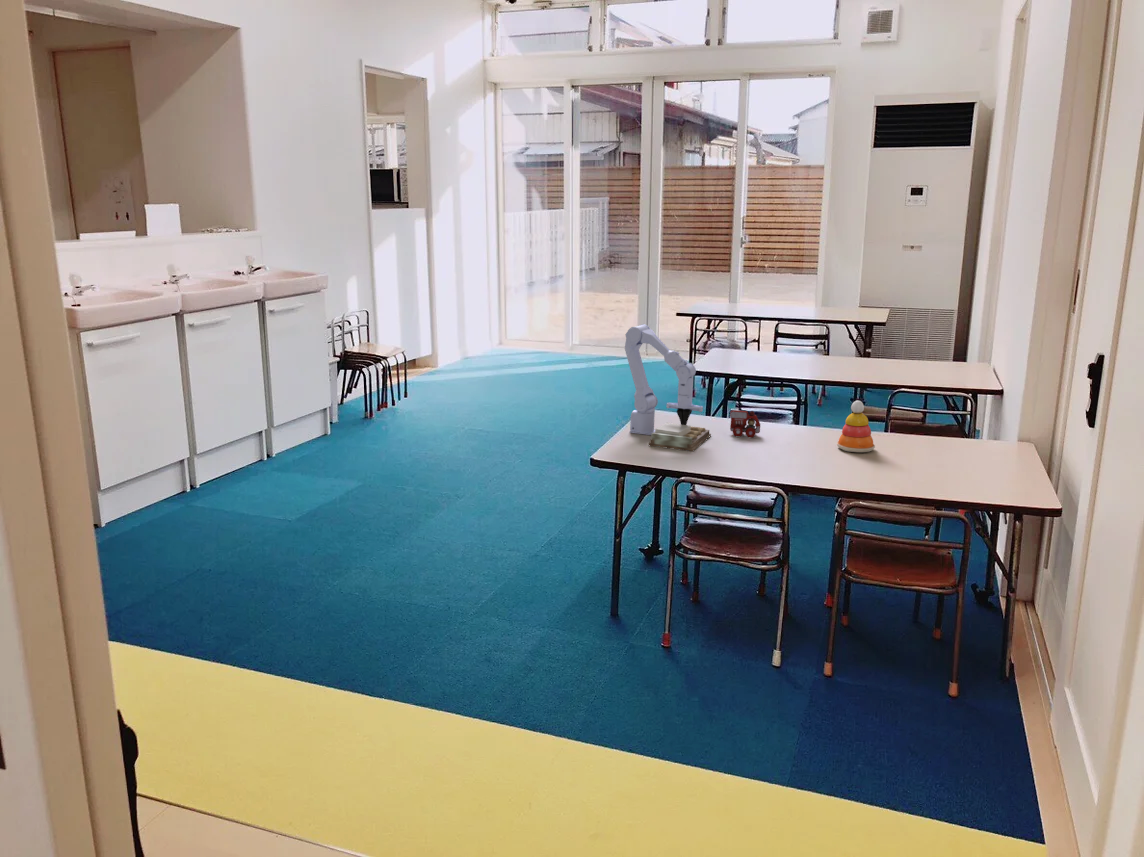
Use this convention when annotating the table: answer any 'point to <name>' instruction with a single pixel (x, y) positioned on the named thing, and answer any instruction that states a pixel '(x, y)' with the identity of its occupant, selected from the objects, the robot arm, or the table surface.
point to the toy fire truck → (744, 423)
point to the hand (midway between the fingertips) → (683, 427)
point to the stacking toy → (856, 431)
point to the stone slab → (673, 429)
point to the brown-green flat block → (681, 439)
